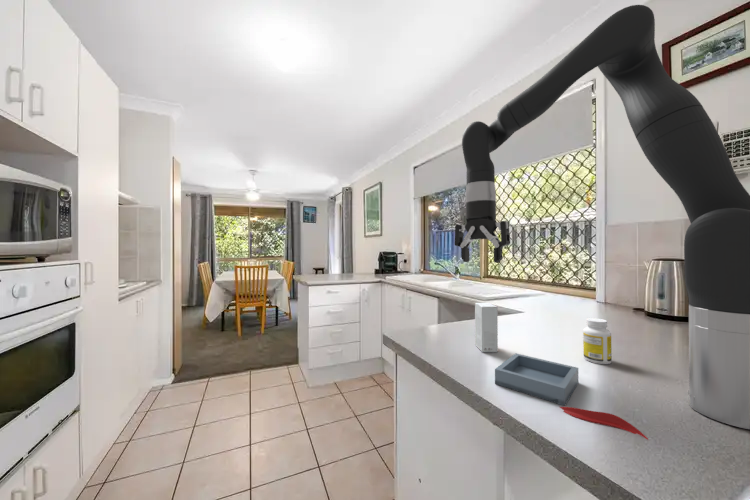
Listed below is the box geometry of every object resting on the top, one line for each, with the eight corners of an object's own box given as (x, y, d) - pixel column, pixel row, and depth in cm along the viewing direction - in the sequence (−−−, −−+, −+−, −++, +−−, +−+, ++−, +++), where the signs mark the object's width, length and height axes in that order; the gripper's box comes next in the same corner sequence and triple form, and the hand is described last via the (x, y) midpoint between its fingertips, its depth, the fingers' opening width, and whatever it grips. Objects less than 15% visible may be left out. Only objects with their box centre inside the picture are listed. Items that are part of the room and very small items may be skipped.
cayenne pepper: (656, 439, 42) (656, 426, 42) (644, 451, 40) (645, 437, 40) (566, 402, 52) (566, 391, 52) (553, 410, 50) (553, 399, 50)
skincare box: (498, 352, 76) (498, 306, 76) (481, 352, 76) (481, 306, 76) (489, 344, 82) (489, 302, 82) (474, 344, 83) (474, 302, 82)
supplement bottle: (601, 356, 73) (601, 317, 73) (617, 365, 68) (617, 322, 68) (578, 356, 74) (578, 317, 74) (592, 364, 68) (592, 322, 68)
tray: (578, 382, 59) (578, 367, 59) (564, 405, 51) (564, 388, 51) (515, 366, 68) (515, 353, 67) (494, 383, 59) (494, 369, 59)
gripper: (513, 199, 75) (514, 262, 75) (463, 205, 85) (463, 261, 86) (501, 195, 70) (502, 263, 70) (449, 202, 80) (449, 262, 80)
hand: (481, 262), depth 78 cm, fingers open, 8 cm apart
